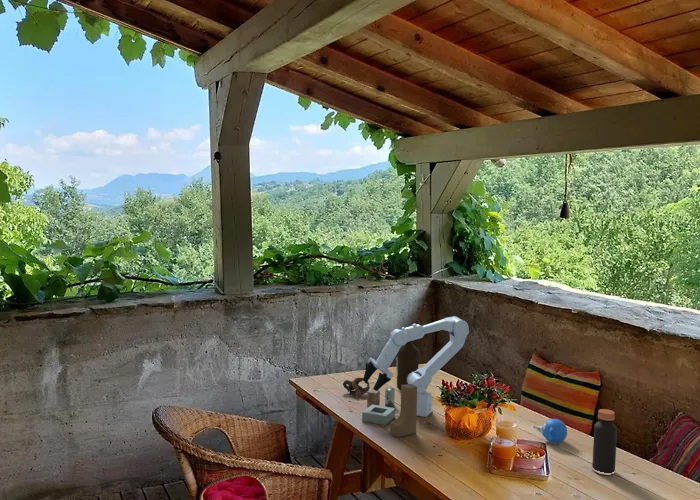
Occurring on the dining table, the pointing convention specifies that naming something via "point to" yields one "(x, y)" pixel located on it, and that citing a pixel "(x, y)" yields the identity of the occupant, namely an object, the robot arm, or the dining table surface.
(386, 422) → the socket block
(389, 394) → the round peg
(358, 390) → the pottery mug
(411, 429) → the brown boot
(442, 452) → the dining table surface
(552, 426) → the blue rubber bulb blower
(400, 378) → the olive oil
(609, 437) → the bottle
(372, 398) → the square peg
